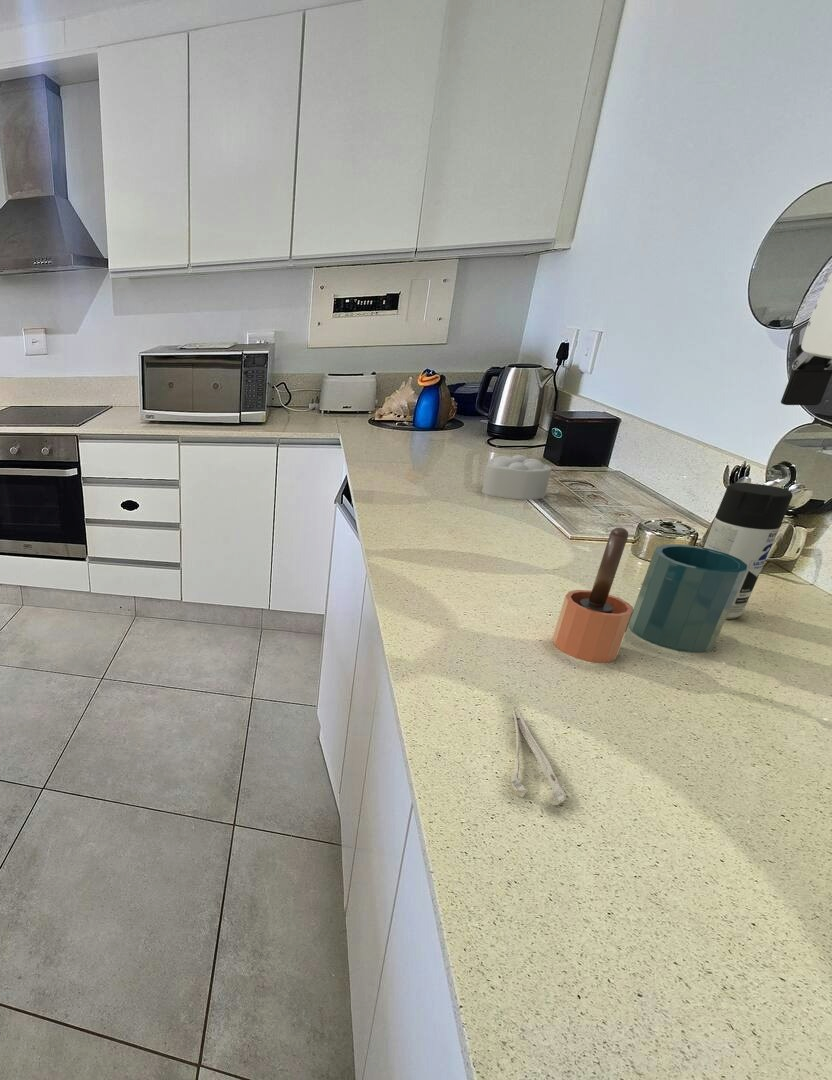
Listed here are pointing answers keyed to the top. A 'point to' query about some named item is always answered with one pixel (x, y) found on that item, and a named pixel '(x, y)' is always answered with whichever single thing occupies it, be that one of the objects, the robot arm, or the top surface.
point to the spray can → (748, 530)
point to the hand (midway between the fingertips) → (825, 412)
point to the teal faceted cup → (686, 597)
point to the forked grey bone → (558, 791)
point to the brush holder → (591, 628)
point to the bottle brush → (606, 572)
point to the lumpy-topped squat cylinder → (516, 478)
